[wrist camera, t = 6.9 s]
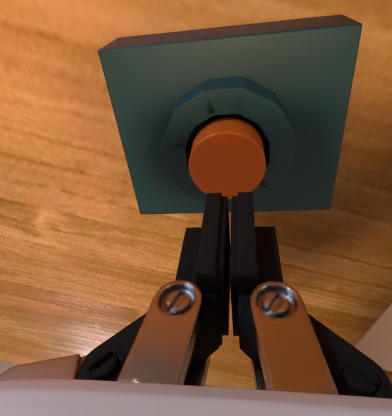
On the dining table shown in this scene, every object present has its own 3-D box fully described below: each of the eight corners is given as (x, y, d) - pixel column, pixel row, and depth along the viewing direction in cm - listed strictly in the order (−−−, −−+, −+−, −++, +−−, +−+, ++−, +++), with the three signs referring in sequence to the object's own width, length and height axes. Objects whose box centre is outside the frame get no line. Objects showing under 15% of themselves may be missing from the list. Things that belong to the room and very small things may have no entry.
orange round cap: (264, 114, 15) (267, 129, 14) (262, 179, 17) (265, 198, 16) (188, 119, 16) (183, 134, 14) (196, 182, 18) (192, 200, 16)
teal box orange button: (343, 14, 16) (378, 29, 12) (319, 182, 22) (337, 229, 18) (116, 38, 18) (82, 58, 14) (150, 188, 24) (133, 232, 20)
